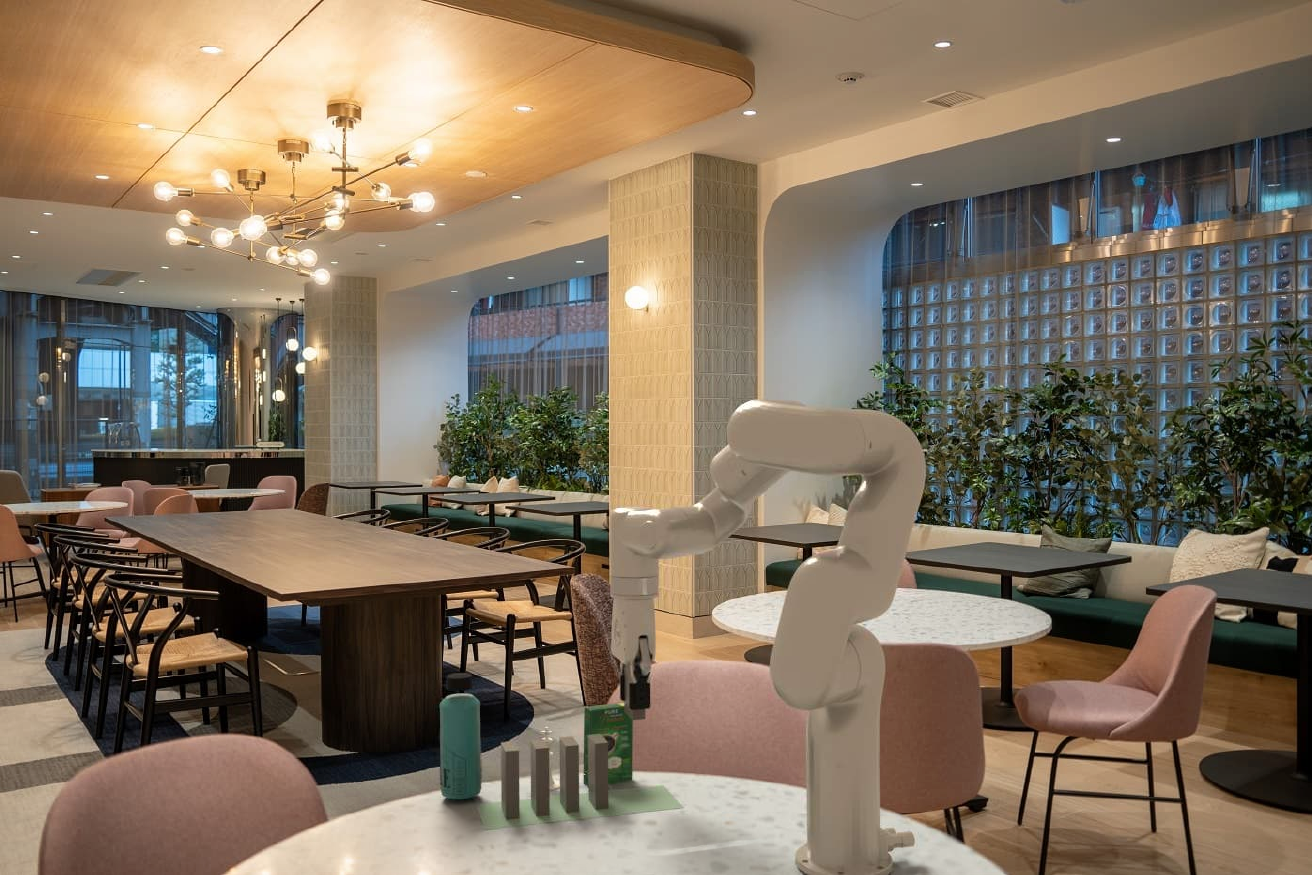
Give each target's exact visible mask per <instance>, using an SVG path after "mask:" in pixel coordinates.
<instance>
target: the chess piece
mask: <svg viewBox="0 0 1312 875" xmlns="http://www.w3.org/2000/svg"><path fill="white" fill-rule="evenodd" d="M540 732H541V735H544V737H543V738H542V739H544V741H545V742H546V744H547V745H548V747H549V790H550V791H555V790H558V789H559V790H560V780H559V781H558V780H555V778H554V777H553V773H552V765H551V759H550V758H551V757H554V753H553V751H551V748H552V745H553V743H554V739H553V738H550V737H549V736H551V735H553V731H552V730H550V731H549V727H547V726H545V728H544V730H541V731H540Z"/></svg>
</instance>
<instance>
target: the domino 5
mask: <svg viewBox="0 0 1312 875" xmlns="http://www.w3.org/2000/svg"><path fill="white" fill-rule="evenodd" d="M634 662H641V661H640V658H636V659H634ZM638 668H640V666H638V667H636V671H637V669H638ZM623 675H624V701H623V702H624V712H625V713H626V714H627V715H628V716H629V717H630V718H631V719H632V720H633V721H639V720H640V721H641V720H646V709H638V710H631V709H630V708H629V683H632V682H631V670H630V662H629V664H628V665H626V664H624V674H623Z"/></svg>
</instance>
